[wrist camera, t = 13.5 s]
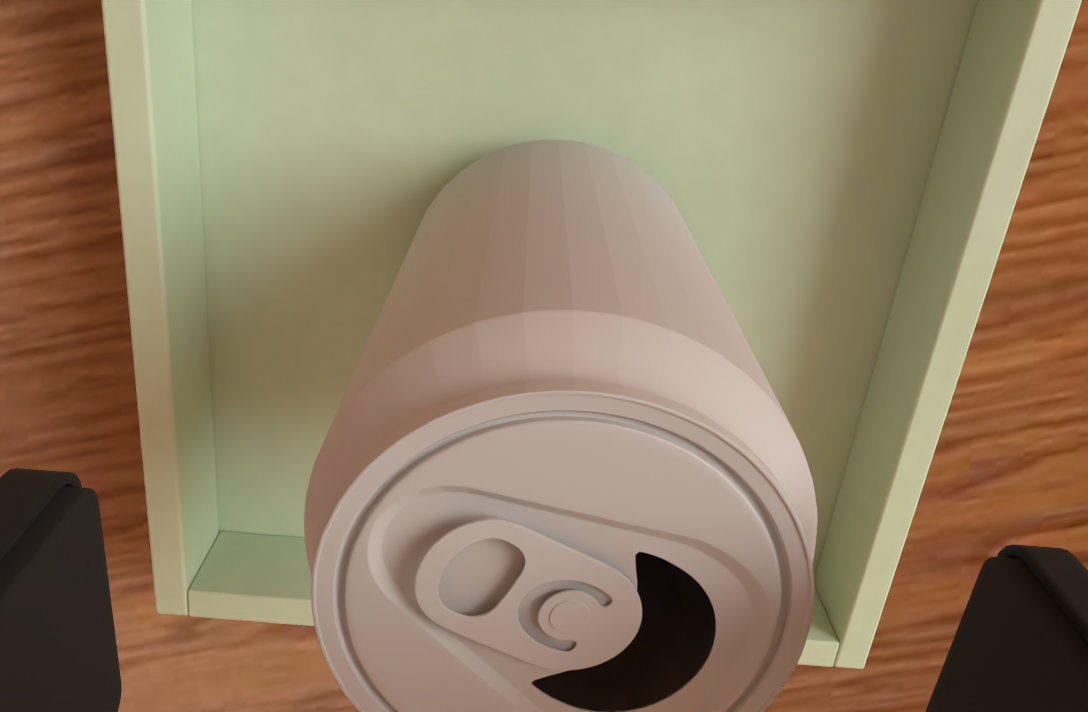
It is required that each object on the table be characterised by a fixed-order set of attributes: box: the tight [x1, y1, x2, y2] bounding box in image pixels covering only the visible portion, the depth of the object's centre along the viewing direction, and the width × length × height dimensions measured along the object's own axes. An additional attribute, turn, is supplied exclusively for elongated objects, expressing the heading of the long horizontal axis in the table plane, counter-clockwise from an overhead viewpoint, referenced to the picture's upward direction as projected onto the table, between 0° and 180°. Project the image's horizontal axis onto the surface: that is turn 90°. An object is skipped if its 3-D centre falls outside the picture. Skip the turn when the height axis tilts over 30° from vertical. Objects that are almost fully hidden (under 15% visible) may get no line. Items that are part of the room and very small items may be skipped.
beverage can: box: [304, 140, 817, 712], centre depth 16 cm, size 6×6×12 cm
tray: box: [101, 0, 1082, 669], centre depth 20 cm, size 18×18×3 cm
